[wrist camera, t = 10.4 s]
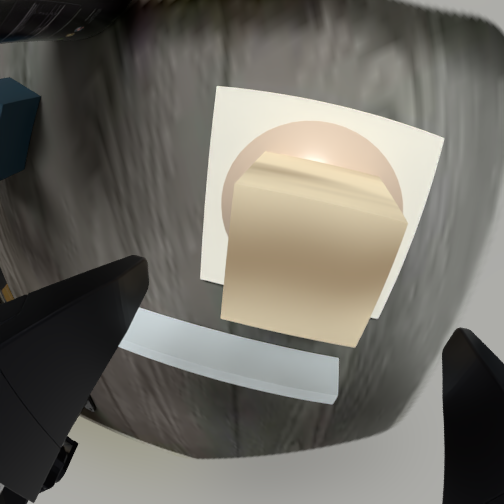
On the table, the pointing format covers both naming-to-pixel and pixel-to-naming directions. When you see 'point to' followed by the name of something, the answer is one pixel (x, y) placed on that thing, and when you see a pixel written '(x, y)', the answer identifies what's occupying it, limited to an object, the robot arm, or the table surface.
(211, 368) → the low wall
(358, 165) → the pad
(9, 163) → the watch
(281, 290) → the maple block
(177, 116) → the table surface
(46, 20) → the supplement bottle
